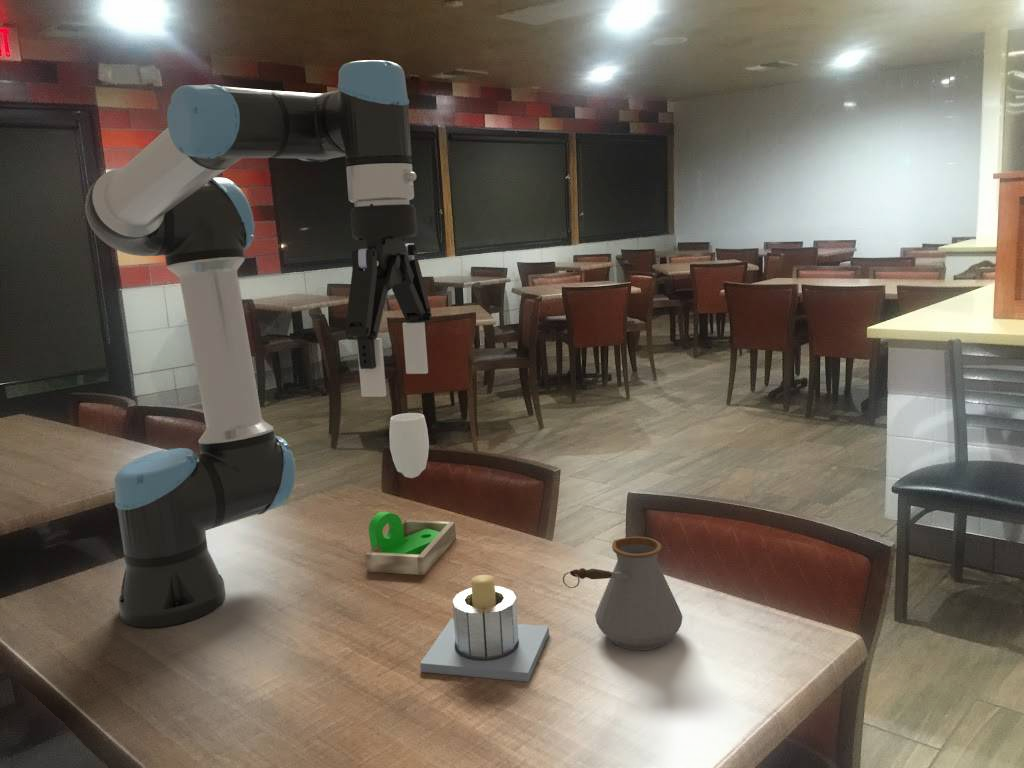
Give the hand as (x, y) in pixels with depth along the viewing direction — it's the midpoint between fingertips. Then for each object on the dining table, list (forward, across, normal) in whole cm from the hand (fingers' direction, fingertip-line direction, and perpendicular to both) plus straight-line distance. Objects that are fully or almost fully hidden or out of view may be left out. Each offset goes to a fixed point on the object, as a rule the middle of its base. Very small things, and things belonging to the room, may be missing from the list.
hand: (397, 384), depth 101 cm
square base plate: (+37, +4, -8) cm, 38 cm away
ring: (+35, +4, -8) cm, 36 cm away
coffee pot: (+37, +7, -25) cm, 45 cm away
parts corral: (+37, +34, +14) cm, 52 cm away
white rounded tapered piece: (+37, +48, +19) cm, 63 cm away
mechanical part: (+37, +34, +14) cm, 52 cm away
